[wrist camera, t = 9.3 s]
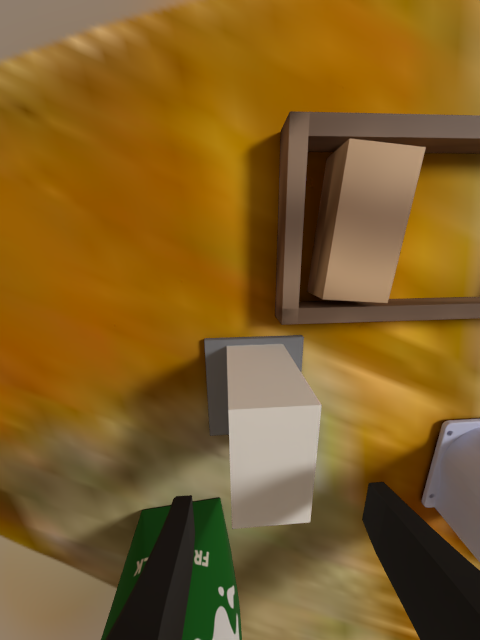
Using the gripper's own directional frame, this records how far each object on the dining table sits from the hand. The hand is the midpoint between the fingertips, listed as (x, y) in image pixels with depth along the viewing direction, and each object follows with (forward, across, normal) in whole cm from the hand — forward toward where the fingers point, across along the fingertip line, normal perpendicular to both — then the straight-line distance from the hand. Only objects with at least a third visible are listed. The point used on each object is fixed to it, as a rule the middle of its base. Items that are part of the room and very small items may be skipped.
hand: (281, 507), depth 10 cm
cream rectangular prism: (+9, 0, 0) cm, 9 cm away
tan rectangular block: (+9, -6, -11) cm, 16 cm away
